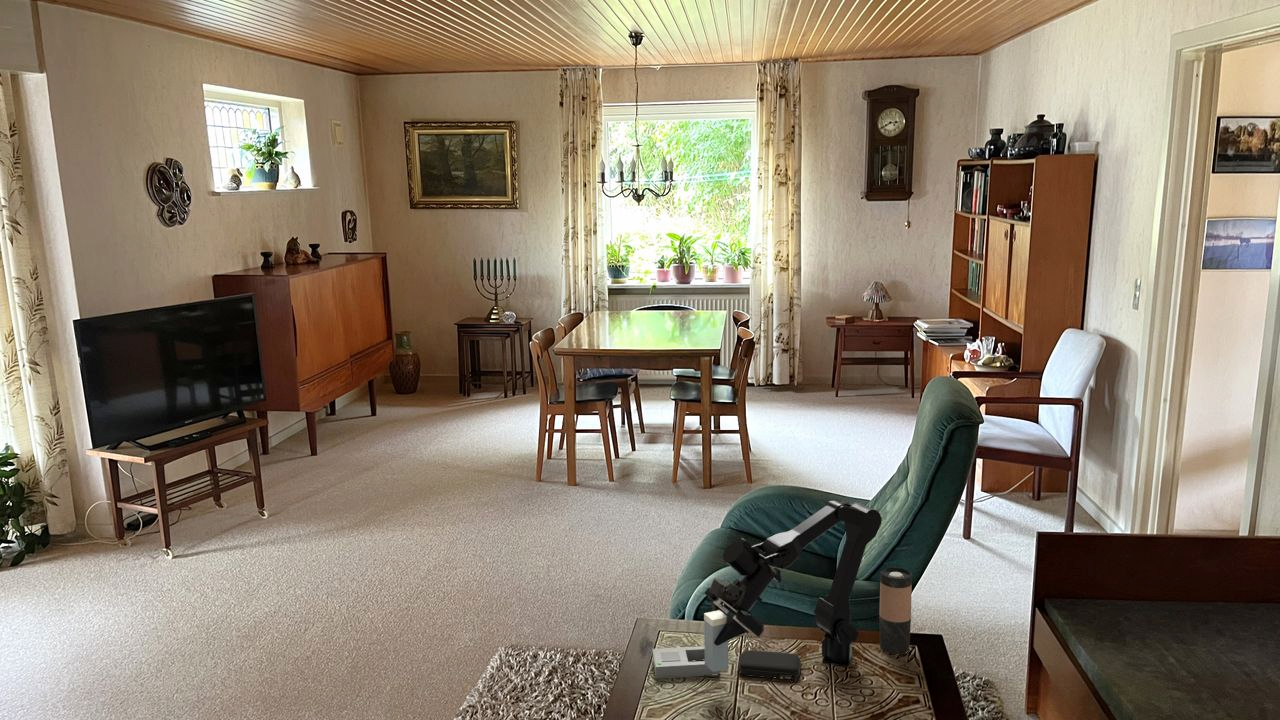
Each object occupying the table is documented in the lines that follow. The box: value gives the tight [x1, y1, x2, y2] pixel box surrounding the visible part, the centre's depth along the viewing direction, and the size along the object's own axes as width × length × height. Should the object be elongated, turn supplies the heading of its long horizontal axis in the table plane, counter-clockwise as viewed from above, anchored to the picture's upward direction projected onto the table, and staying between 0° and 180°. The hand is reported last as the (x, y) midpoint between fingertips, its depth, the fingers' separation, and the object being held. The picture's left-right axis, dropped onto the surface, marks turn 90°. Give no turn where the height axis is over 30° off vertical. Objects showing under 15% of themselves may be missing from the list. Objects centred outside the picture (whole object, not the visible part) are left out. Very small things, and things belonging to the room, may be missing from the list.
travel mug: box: [878, 566, 913, 655], centre depth 221 cm, size 8×8×20 cm
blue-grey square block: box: [703, 610, 729, 672], centre depth 202 cm, size 4×4×12 cm
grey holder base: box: [652, 645, 721, 680], centre depth 214 cm, size 16×9×3 cm, turn 94°
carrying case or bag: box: [737, 649, 802, 680], centre depth 212 cm, size 11×3×15 cm
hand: (710, 640), depth 201 cm, fingers closed on blue-grey square block, 4 cm apart
